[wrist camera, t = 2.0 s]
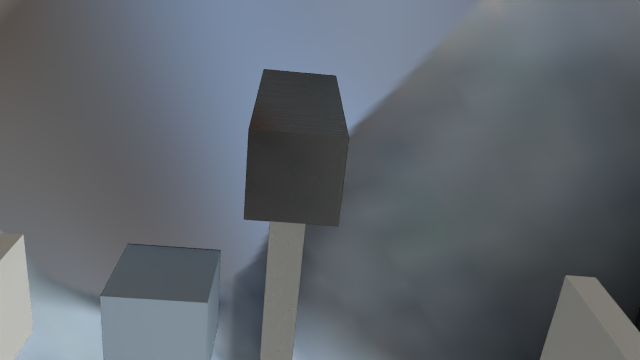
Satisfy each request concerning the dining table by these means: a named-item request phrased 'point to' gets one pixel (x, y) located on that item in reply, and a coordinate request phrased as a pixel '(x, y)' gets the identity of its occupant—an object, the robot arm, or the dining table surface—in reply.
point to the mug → (638, 321)
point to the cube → (161, 304)
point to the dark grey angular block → (292, 185)
